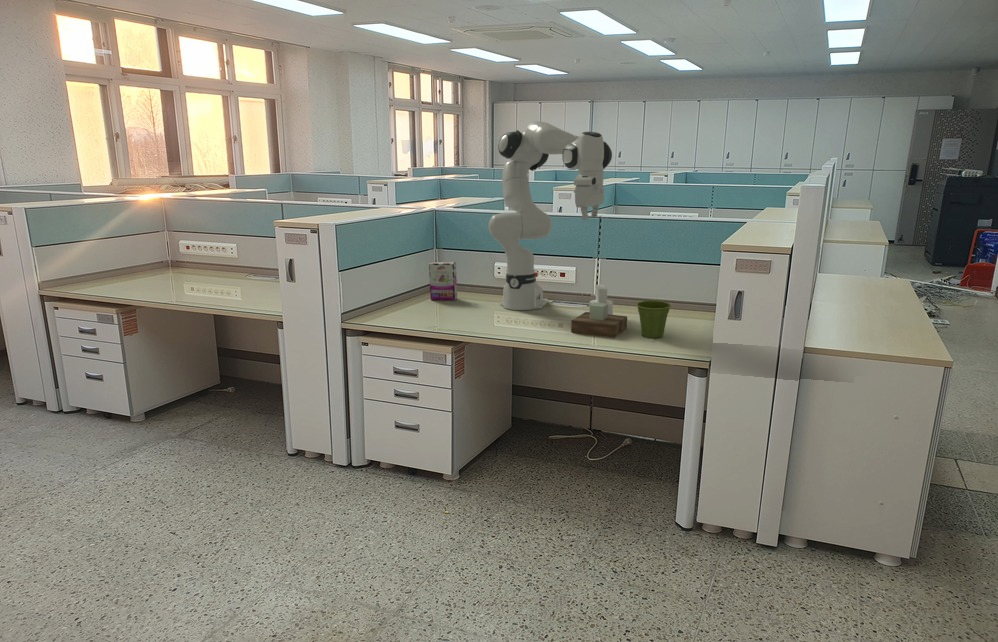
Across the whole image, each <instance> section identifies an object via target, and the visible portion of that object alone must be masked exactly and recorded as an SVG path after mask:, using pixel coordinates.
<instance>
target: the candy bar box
mask: <svg viewBox="0 0 998 642" xmlns="http://www.w3.org/2000/svg"><path fill="white" fill-rule="evenodd" d="M428 265H429V266H428V271H429V292H430V300H431V301H456V300H458V288H457V287H458V286H457V285H458V284H457V283H458V278H457V262H456V261H431V262H429V263H428Z"/></svg>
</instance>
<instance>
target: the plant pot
mask: <svg viewBox="0 0 998 642" xmlns="http://www.w3.org/2000/svg"><path fill="white" fill-rule="evenodd" d="M635 306H636V307H637V310H638V314H639V320H640V322H639V323H640V328H641V335H642V337H645V338H647V339H657V338H662V337H663V336H664V333H665V328H666V323H667V317H668V314H669V312H670V308H671V307H672V303H670V302H667V301H660V300H643V301H638V302H637V303H636V304H635Z"/></svg>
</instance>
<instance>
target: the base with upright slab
mask: <svg viewBox="0 0 998 642" xmlns="http://www.w3.org/2000/svg"><path fill="white" fill-rule="evenodd" d="M593 303H605V304H608V314H610V315H614V314H613V313H614V312H613V311H614V310H613V309H614V301H612V300H609V299H608V288H607V286H605V285H604V284H596V285H595V299H593V300H590V301H589V303H588V304H589V305H588V306H589V307H588V309H589V312H590V305H591V304H593Z"/></svg>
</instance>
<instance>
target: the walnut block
mask: <svg viewBox="0 0 998 642" xmlns="http://www.w3.org/2000/svg"><path fill="white" fill-rule="evenodd" d="M627 329H628V316H626V315H617V314H613V315H610V314H608V317H607V318H606V319H604V320H594V319H590V312H588V311H585V312H584V313H581V314H579V315H578V316H576V317H575V318H572V319H571V322H570V333H572V334H578V335H579V334H580V335H586V336H588V335H589V336H595V337H596V336H597V337H603V338H612V339H615V338H616V337H617V336H619V335H620V334H621V333H624V331H626V330H627Z"/></svg>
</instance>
